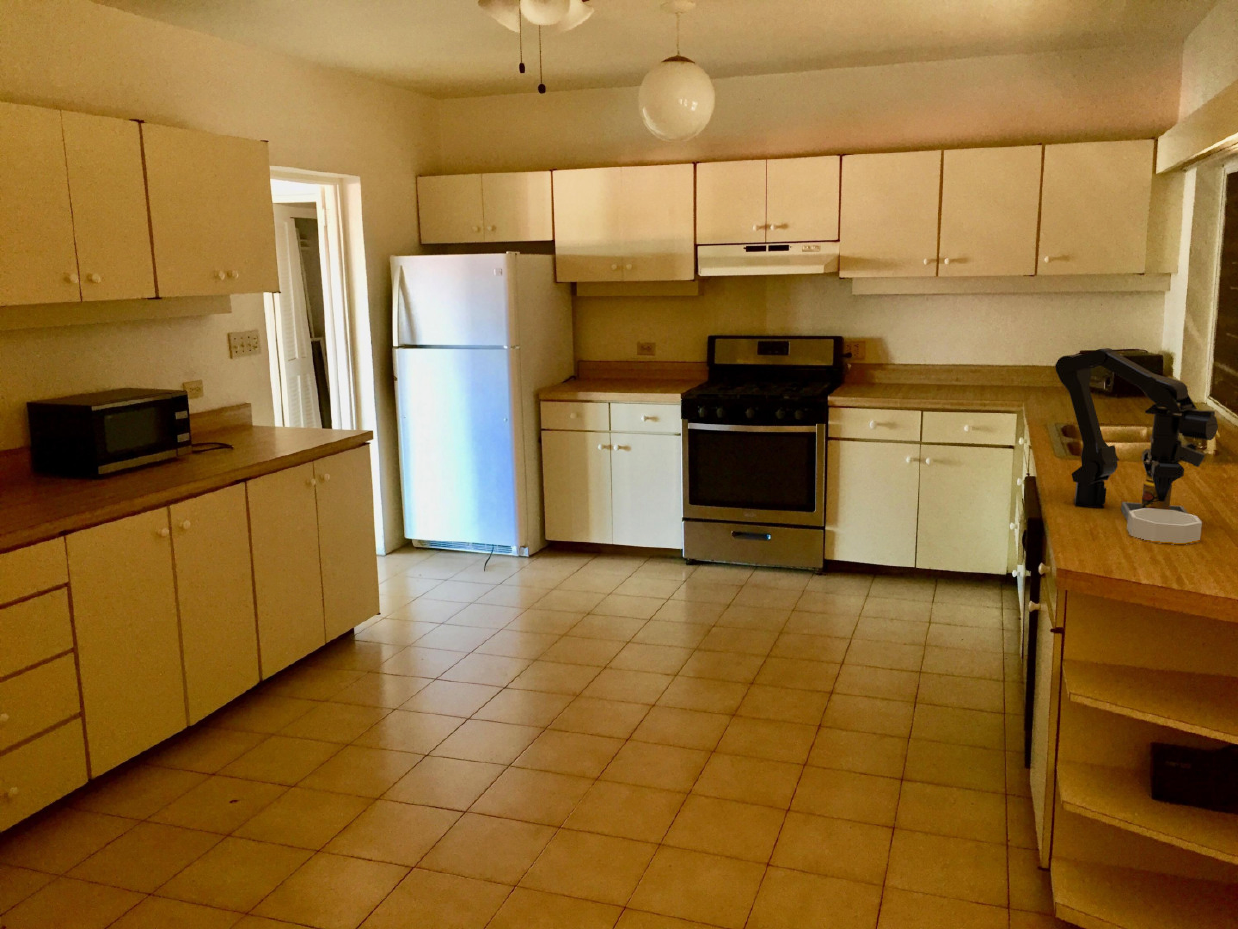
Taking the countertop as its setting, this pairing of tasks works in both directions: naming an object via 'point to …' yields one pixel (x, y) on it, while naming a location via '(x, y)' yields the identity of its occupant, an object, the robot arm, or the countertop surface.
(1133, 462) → the countertop surface
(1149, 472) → the condiment
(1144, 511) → the bowl
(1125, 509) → the open square frame
